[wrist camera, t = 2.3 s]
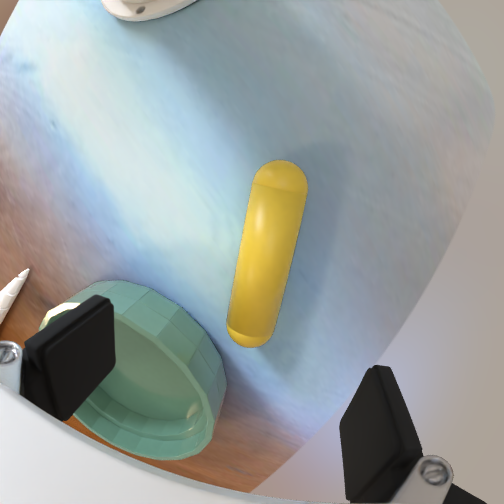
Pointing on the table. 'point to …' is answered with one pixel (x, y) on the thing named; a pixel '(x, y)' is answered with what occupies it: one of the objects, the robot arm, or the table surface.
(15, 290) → the unicorn horn
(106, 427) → the green round dish
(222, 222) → the table surface
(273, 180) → the yellow rounded capsule
